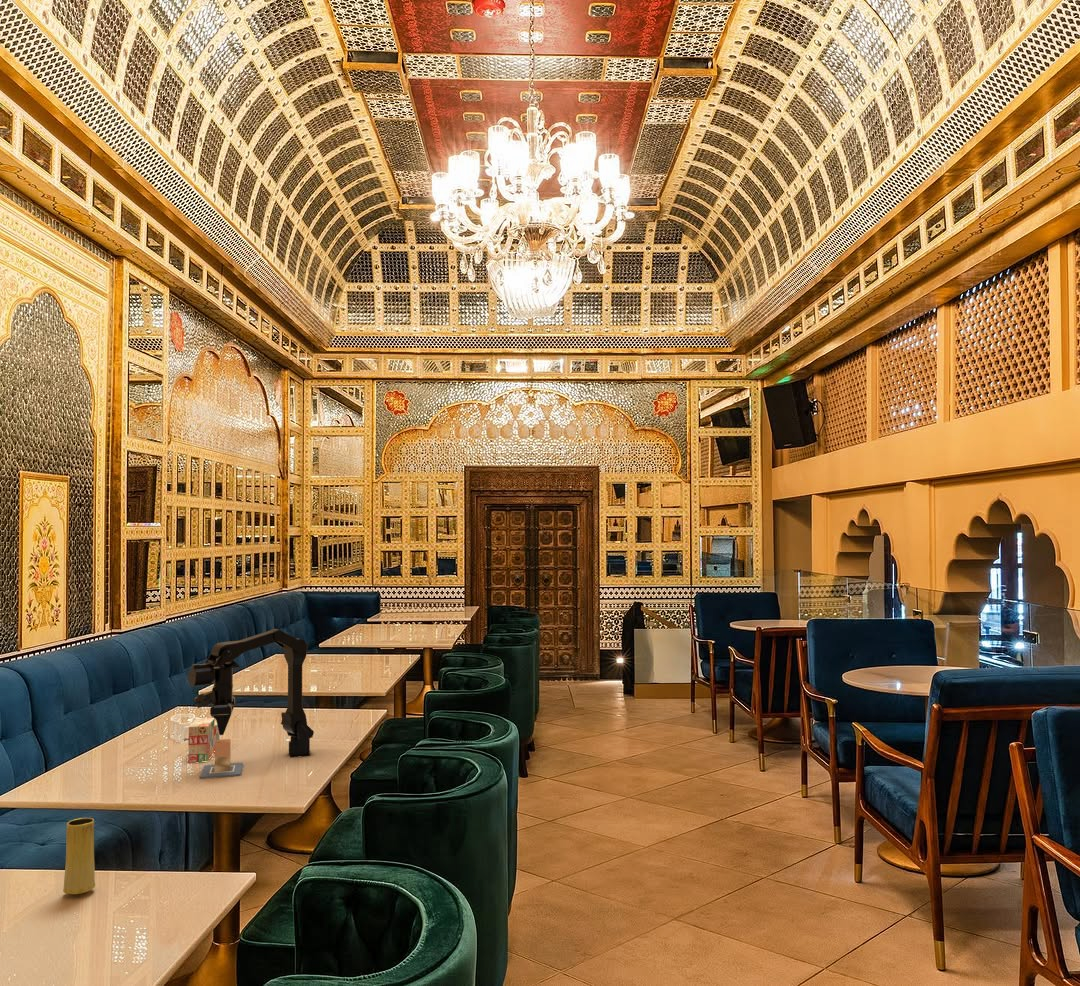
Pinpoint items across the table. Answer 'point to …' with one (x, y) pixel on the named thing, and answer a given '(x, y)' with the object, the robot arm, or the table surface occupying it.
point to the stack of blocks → (202, 739)
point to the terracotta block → (222, 748)
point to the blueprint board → (209, 771)
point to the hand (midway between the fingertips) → (222, 731)
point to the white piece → (181, 727)
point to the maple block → (222, 763)
